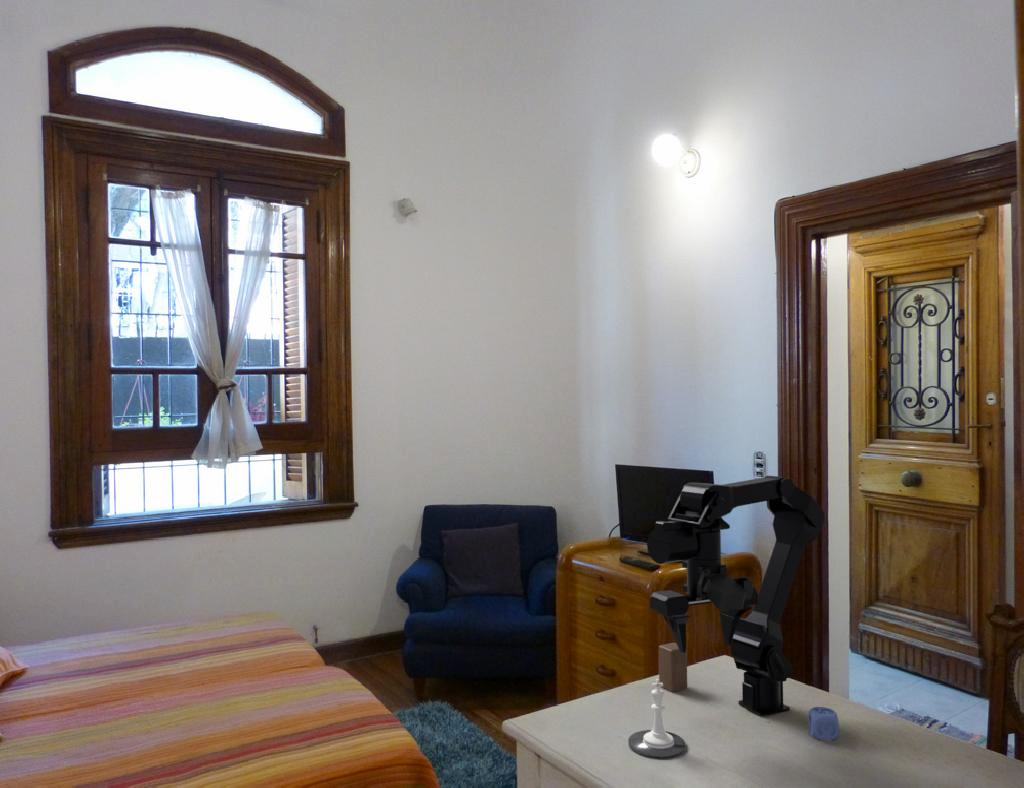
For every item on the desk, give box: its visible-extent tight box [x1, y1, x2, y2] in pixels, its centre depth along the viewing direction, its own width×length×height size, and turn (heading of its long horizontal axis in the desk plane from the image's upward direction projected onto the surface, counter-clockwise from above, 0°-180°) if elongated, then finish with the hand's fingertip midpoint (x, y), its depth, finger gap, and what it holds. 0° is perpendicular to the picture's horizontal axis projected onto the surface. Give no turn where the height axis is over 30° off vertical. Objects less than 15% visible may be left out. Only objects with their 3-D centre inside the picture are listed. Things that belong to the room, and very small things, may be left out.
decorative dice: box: [807, 706, 840, 741], centre depth 125 cm, size 4×4×4 cm
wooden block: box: [658, 642, 688, 693], centre depth 147 cm, size 4×4×8 cm
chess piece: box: [643, 678, 674, 749], centre depth 122 cm, size 5×5×10 cm
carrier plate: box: [627, 729, 686, 759], centre depth 122 cm, size 9×9×1 cm
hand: (705, 648), depth 130 cm, fingers open, 9 cm apart
